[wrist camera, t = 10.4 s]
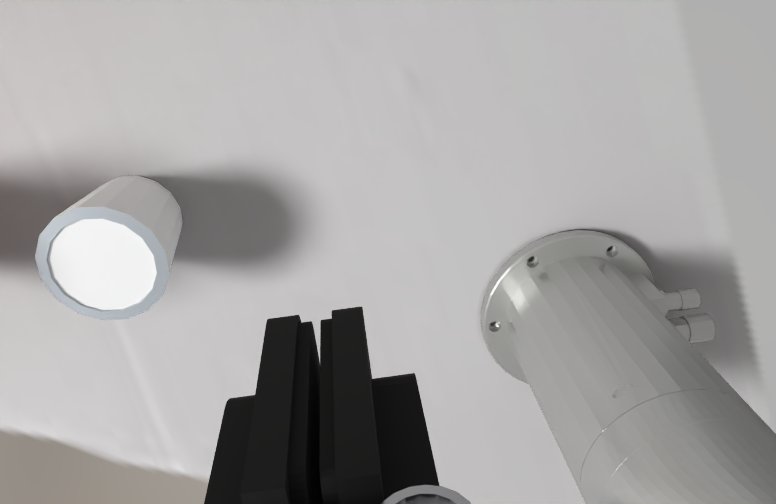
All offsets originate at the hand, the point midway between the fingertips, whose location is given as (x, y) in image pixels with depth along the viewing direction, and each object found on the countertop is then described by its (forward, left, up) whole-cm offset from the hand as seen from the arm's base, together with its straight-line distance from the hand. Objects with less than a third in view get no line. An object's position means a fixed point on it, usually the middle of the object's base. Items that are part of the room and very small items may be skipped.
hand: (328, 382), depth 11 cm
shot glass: (+13, +7, -29) cm, 33 cm away
